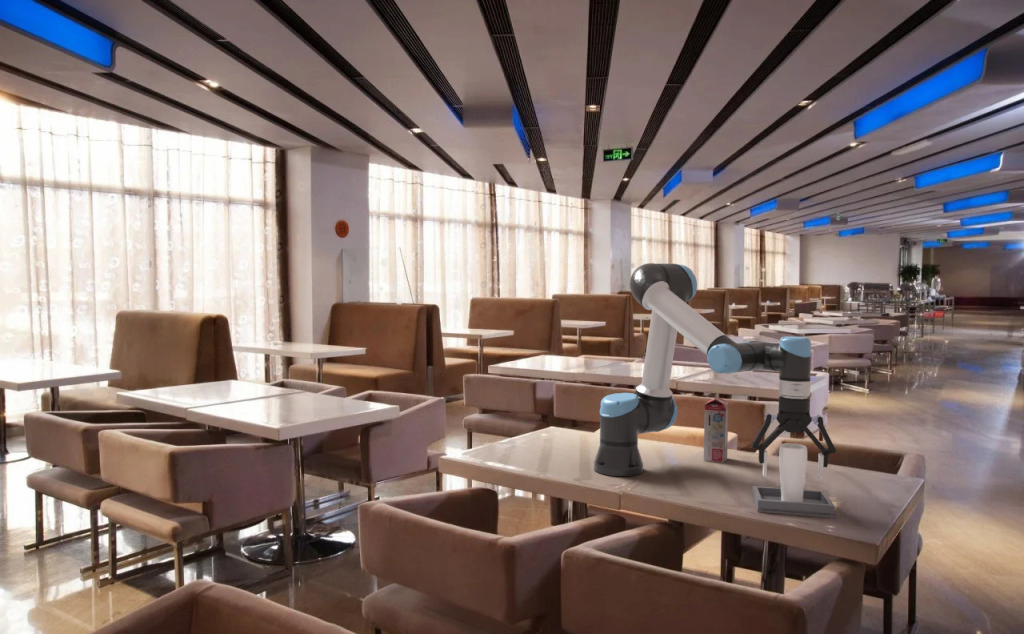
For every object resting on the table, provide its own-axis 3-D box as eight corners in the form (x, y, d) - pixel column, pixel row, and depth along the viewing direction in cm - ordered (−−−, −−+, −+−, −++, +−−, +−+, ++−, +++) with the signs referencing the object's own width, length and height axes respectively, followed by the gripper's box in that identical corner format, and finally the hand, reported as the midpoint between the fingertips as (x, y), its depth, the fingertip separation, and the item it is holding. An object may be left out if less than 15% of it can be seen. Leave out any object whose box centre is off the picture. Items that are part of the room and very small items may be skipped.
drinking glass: (773, 499, 186) (774, 443, 185) (797, 498, 186) (799, 442, 185) (785, 507, 179) (787, 449, 178) (810, 506, 179) (812, 448, 179)
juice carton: (727, 458, 233) (728, 392, 232) (724, 462, 227) (726, 395, 226) (706, 456, 236) (708, 391, 235) (703, 460, 230) (705, 394, 229)
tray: (757, 511, 178) (758, 500, 178) (752, 496, 191) (753, 485, 191) (834, 517, 174) (834, 505, 174) (823, 502, 187) (824, 490, 187)
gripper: (745, 396, 181) (743, 477, 182) (850, 400, 175) (847, 484, 176) (742, 392, 188) (740, 470, 189) (843, 396, 182) (840, 476, 183)
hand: (792, 477), depth 182 cm, fingers open, 13 cm apart
